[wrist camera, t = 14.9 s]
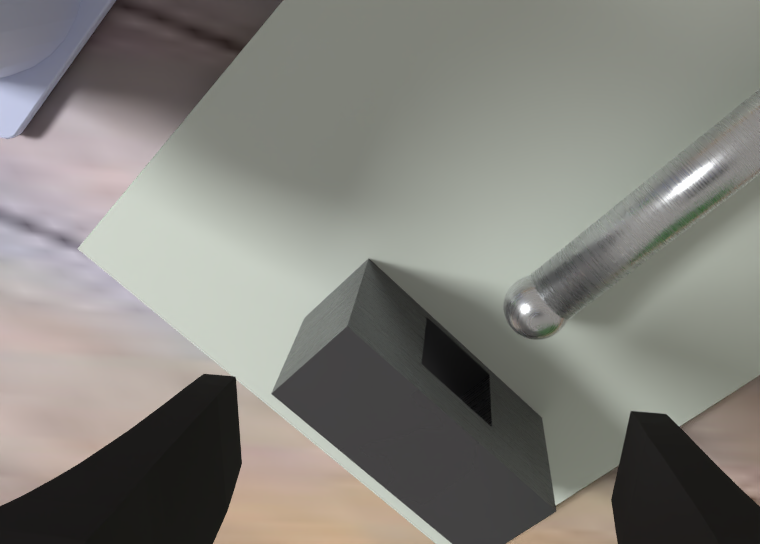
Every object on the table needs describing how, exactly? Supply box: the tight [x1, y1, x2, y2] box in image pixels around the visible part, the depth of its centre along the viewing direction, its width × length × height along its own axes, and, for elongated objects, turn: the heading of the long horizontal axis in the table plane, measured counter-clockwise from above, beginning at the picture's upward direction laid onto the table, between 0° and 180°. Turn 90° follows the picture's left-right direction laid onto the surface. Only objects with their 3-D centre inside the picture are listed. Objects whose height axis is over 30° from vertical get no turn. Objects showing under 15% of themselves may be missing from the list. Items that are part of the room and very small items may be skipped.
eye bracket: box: [271, 258, 556, 544], centre depth 21 cm, size 8×3×4 cm, turn 46°
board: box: [78, 0, 760, 544], centre depth 20 cm, size 18×25×1 cm
